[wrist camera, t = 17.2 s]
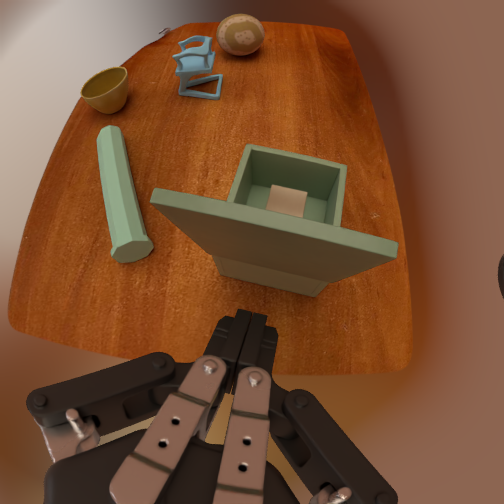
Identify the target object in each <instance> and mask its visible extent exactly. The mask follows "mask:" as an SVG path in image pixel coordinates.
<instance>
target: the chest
mask: <svg viewBox="0 0 504 504" xmlns="http://www.w3.org/2000/svg"><path fill="white" fill-rule="evenodd" d="M346 172H347V165H343V164H339V163H335V162H331V161H327V160H323V159H319V158H314V157H310V156H306V155H301V154H297V153H292V152H287V151H283V150H278V149H273V148H268V147H262V146H257V145H252V144H246V147H245V150H244V152H243V155H242V158H241V161H240V164H239V167H238V170H237V172H236V175H235V178H234V181H233V184H232V187H231V190H230V193H229V196H228V199H227V201H228V202H233V203H238V204H242V205H247V206H252V207H256V208H261V209H266V205H267V201H268V197H269V193H270V190H271V186H272V185H277V186H281V187H286V188H291V189H295V190H299V191H304V192H307V198H306V204H305V209H304V214H303V218H305V219H309V220H314V221H318V222H322V223H326V224H330V225H334V226H338V227H340V224H341V216H342V208H343V200H344V191H345V182H346ZM212 257H213V259H214V261H215V264H216V266H217V268H218V271H219V273H220V275H223V276H227V277H231V278H235V279H239V280H243V281H247V282H252V283H256V284H260V285H264V286H268V287H272V288H277V289H281V290H285V291H290V292H294V293H298V294H303V295H307V296H311V297H316V296H317V295H318V294H319V293H320V292H321V291H322V290H323V289H324V288H325V287H326V286H327V285H328V284H329V282H325V281H320V280H316V279H312V278H307V277H303V276H299V275H294V274H290V273H286V272H281V271H277V270H273V269H269V268H264V267H260V266H256V265H252V264H248V263H243V262H239V261H235V260H231V259H227V258H222V257H218V256H214V255H212Z"/></svg>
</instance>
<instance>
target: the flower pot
mask: <svg viewBox="0 0 504 504" xmlns="http://www.w3.org/2000/svg"><path fill="white" fill-rule="evenodd" d="M127 94H128V74H127V70H126V69H125V68H123V67H113V68H109V69H106V70H104V71H101V72H99V73H97V74H96V75H94V76H93V77H92V78H90V79H89V80H88V81H87V82H86V83H85V84H84V86H83V87H82V89H81V96H82V98H83V99H84V100H85V101H86V102H87V103H88V104H89V105H90V106H92V107H93V108H94V109H96V110H98V111H100V112H102V113H105V114H112V113H115V112H117V111H119V110H120V109H121V108H122V107H123V106H124V104H125V102H126V99H127Z"/></svg>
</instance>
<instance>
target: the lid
mask: <svg viewBox="0 0 504 504" xmlns="http://www.w3.org/2000/svg"><path fill="white" fill-rule="evenodd" d="M150 203H151V204H152V205H153V206H154V207H156V208H157V209H158V210H159V211H160V212H161V213H162V214H163V215H165V216H166V217H167V218H168V219H169V220H170V221H171V222H172V223H174V224H175V225H176V226H177V227H178V228H179V229H180V230H182V231H183V232H184V233H185V234H186V235H187V236H188V237H190V238H191V239H192V240H193V241H194V242H195V243H196V244H198V245H199V246H200V247H201V248H202V249H203V250H205V251H206V252H207V253H208V254H210V255H214V256H218V257H222V258H227V259H231V260H235V261H239V262H243V263H248V264H252V265H256V266H260V267H264V268H269V269H273V270H277V271H281V272H286V273H290V274H294V275H299V276H303V277H307V278H312V279H316V280H320V281H325V282H329V283H334V282H336V281H339V280H342V279H344V278H347V277H350V276H352V275H355V274H358V273H360V272H363V271H366V270H368V269H371V268H373V267H376V266H379V265H381V264H384V263H386V262H389V261H391V260H394V259H396V258H397V251H398V242H395V241H392V240H388V239H384V238H381V237H377V236H373V235H369V234H365V233H362V232H358V231H354V230H350V229H346V228H342V227H338V226H334V225H330V224H326V223H322V222H318V221H314V220H309V219H305V218H301V217H297V216H292V215H288V214H284V213H279V212H275V211H270V210H266V209H261V208H256V207H252V206H247V205H242V204H238V203H233V202H228V201H223V200H218V199H213V198H208V197H203V196H198V195H193V194H187V193H182V192H176V191H171V190H165V189H160V188H154V191H153V194H152V196H151V199H150Z"/></svg>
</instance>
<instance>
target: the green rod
mask: <svg viewBox="0 0 504 504" xmlns="http://www.w3.org/2000/svg"><path fill="white" fill-rule="evenodd" d="M97 150H98V159H99V168H100V176H101V183H102V190H103V196H104V203H105V208H106V214H107V220H108V225H109V230H110V235H111V240H112V245H113V248H112V250H111V256H112V258H114V259H115V260H116V261H117V262H119V263H122V262H135V261H137V260H139V259H142V258H144V257H146V256H148V254H149V253H150V252H151V251H152V249H153V248H154V246H153V243H152V241H151V240H150V239H149V237H148V236H147V234H146V230H145V226H144V223H143V219H142V215H141V211H140V207H139V204H138V200H137V196H136V191H135V187H134V183H133V179H132V174H131V170H130V165H129V161H128V156H127V151H126V146H125V141H124V136H123V134H122V132H121V130H120V128H118V127H116V126H111V125H109V126H107V127H105V128H103V129H101V131H100V133H99V135H98V138H97Z"/></svg>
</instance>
